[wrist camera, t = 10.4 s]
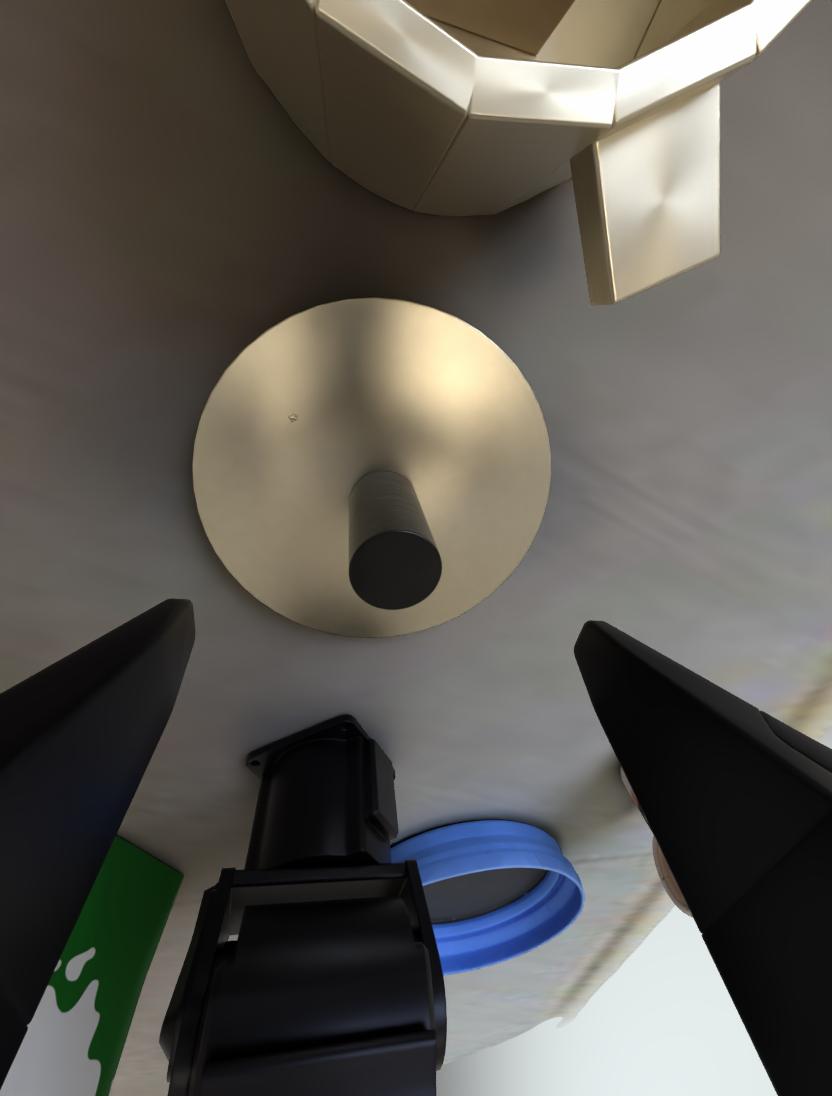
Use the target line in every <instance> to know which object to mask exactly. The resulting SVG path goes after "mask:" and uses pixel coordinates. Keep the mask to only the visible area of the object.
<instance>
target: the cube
mask: <svg viewBox="0 0 832 1096" xmlns="http://www.w3.org/2000/svg"><path fill="white" fill-rule="evenodd" d="M405 1H406V2H408V3H409V4H410V5H412V6H413V7H414V8H416V9H417V10H418V11H420V12H421V13H422V14H424V15H426V16H429V17H431V18H434V19H437V20H440V21H442V22H445V23H448V24H451V25H453V26H456V27H459V28H462V29H465V30H467V31H470V32H473V33H476V34H478V35H481V36H484V37H487V38H489V39H492V40H495V41H498V42H500V43H503V44H506V45H509V46H512V47H514V48H517V49H520V50H523V51H525V52H528V53H531V54H534V55H537V54H538V53H539V51H540V50H541V48H542V47H543V45H544V44H545V43H546V41H547V40H548V38H549V37H550V36H551V34H552V33H553V31H554V30H555V28H556V27H557V26H558V24H559V23H560V21H561V20H562V19H563V17H564V16H565V14H566V13H567V11H568V10H569V9H570V7H571V6H572V4H573V3H574V2H575V0H405Z"/></svg>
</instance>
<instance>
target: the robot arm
mask: <svg viewBox="0 0 832 1096" xmlns="http://www.w3.org/2000/svg"><path fill="white" fill-rule="evenodd" d="M194 640H195V622H194V612H193V604H192V602H191V601H190V600H188V599H167V600H165V601H163V602H161V603H160V604H158V605H156V606H154V607H153V608H151V609H149V610H147V611H146V612H144V613H142V614H140V615H139V616H137V617H135V618H133V619H131V620H130V621H128V622H126V623H124V624H123V625H121V626H119V627H117V628H116V629H114V630H112V631H110V632H109V633H107V634H105V635H103V636H102V637H100V638H98V639H96V640H94V641H93V642H91V643H89V644H87V645H86V646H84V647H82V648H80V649H79V650H77V651H75V652H73V653H72V654H70V655H68V656H66V657H64V658H63V659H61V660H59V661H57V662H56V663H54V664H52V665H50V666H49V667H47V668H45V669H43V670H42V671H40V672H38V673H36V674H35V675H33V676H31V677H29V678H27V679H26V680H24V681H22V682H20V683H19V684H17V685H15V686H13V687H12V688H10V689H8V690H6V691H5V692H3V693H1V694H0V1090H1V1088H2V1085H3V1083H4V1081H5V1079H6V1077H7V1074H8V1072H9V1070H10V1068H11V1066H12V1063H13V1061H14V1059H15V1057H16V1055H17V1052H18V1050H19V1048H20V1046H21V1044H22V1041H23V1039H24V1037H25V1035H26V1033H27V1030H28V1026H27V1025H28V1024H30V1022H31V1021H32V1019H33V1016H34V1014H35V1012H36V1010H37V1008H38V1005H39V1003H40V1001H41V999H42V997H43V994H44V992H45V990H46V988H47V986H48V983H49V981H50V979H51V977H52V975H53V972H54V970H55V968H56V966H57V964H58V961H59V959H60V957H61V955H62V953H63V950H64V948H65V946H66V944H67V942H68V940H69V937H70V935H71V933H72V931H73V929H74V926H75V924H76V922H77V920H78V918H79V915H80V913H81V911H82V909H83V907H84V904H85V902H86V900H87V898H88V896H89V893H90V891H91V889H92V887H93V885H94V882H95V880H96V878H97V876H98V874H99V871H100V869H101V867H102V865H103V863H104V860H105V858H106V856H107V854H108V852H109V849H110V847H111V845H112V843H113V841H114V838H115V836H116V834H117V832H118V830H119V827H120V825H121V823H122V821H123V819H124V816H125V814H126V812H127V810H128V808H129V805H130V803H131V801H132V799H133V797H134V795H135V792H136V790H137V788H138V786H139V784H140V781H141V779H142V777H143V775H144V773H145V770H146V768H147V766H148V764H149V762H150V759H151V757H152V755H153V753H154V751H155V748H156V746H157V744H158V742H159V740H160V737H161V735H162V733H163V731H164V729H165V726H166V724H167V722H168V720H169V717H170V715H171V712H172V710H173V707H174V704H175V701H176V698H177V695H178V692H179V689H180V685H181V682H182V679H183V676H184V673H185V670H186V667H187V663H188V660H189V657H190V654H191V651H192V648H193V644H194ZM574 655H575V658H576V661H577V664H578V666H579V669H580V672H581V675H582V677H583V680H584V683H585V685H586V688H587V691H588V694H589V696H590V699H591V702H592V704H593V707H594V710H595V712H596V714H597V716H598V719H599V721H600V723H601V725H602V727H603V729H604V731H605V734H606V736H607V738H608V740H609V742H610V744H611V746H612V748H613V750H614V752H615V754H616V757H617V759H618V761H619V763H620V765H621V767H622V769H623V771H624V773H625V775H626V778H627V780H628V782H629V784H630V786H631V788H632V790H633V792H634V794H635V796H636V798H637V801H638V803H639V805H640V807H641V809H642V811H643V813H644V815H645V817H646V819H647V822H648V824H649V826H650V828H651V830H652V832H653V834H654V836H655V838H656V840H657V843H658V845H659V847H660V849H661V851H662V853H663V855H664V857H665V859H666V861H667V863H668V866H669V868H670V870H671V872H672V874H673V876H674V878H675V880H676V882H677V884H678V887H679V889H680V891H681V893H682V895H683V897H684V899H685V901H686V903H687V905H688V907H689V910H690V912H691V914H692V916H693V918H694V920H695V922H696V924H697V926H698V928H699V931H700V932H701V933H703V934H702V937H703V940H704V942H705V944H706V945H707V948H708V950H709V952H710V954H711V956H712V959H713V961H714V963H715V964H716V967H717V969H718V971H719V973H720V975H721V977H722V979H723V981H724V984H725V986H726V988H727V990H728V992H729V994H730V996H731V998H732V1001H733V1003H734V1005H735V1007H736V1009H737V1011H738V1013H739V1015H740V1017H741V1019H742V1022H743V1024H744V1025H745V1028H746V1030H747V1032H748V1034H749V1036H750V1038H751V1040H752V1043H753V1045H754V1047H755V1049H756V1051H757V1053H758V1055H759V1057H760V1059H761V1061H762V1063H763V1066H764V1068H765V1070H766V1072H767V1074H768V1076H769V1078H770V1080H771V1082H772V1084H773V1087H774V1088H775V1091H776V1093H777V1095H778V1096H832V749H830V748H828V747H826V746H824V745H823V744H821V743H819V742H817V741H815V740H813V739H811V738H810V737H808V736H806V735H804V734H802V733H801V732H799V731H797V730H795V729H793V728H792V727H790V726H788V725H786V724H784V723H783V722H781V721H779V720H777V719H775V718H774V717H772V716H770V715H768V714H767V713H765V712H763V711H759V710H758V708H756V707H754V706H752V705H751V704H749V703H747V702H745V701H744V700H742V699H740V698H738V697H737V696H735V695H733V694H731V693H730V692H728V691H726V690H724V689H722V688H721V687H719V686H717V685H715V684H714V683H712V682H710V681H708V680H707V679H705V678H703V677H701V676H700V675H698V674H696V673H694V672H692V671H691V670H689V669H687V668H685V667H684V666H682V665H680V664H678V663H677V662H675V661H673V660H671V659H670V658H668V657H666V656H664V655H663V654H661V653H659V652H657V651H655V650H654V649H652V648H650V647H648V646H647V645H645V644H643V643H641V642H640V641H638V640H636V639H634V638H633V637H631V636H629V635H627V634H626V633H624V632H622V631H620V630H618V629H617V628H615V627H613V626H611V625H610V624H608V623H606V622H604V621H591V620H590V621H587V622H586V623H585V624H584V626H583V628H582V630H581V632H580V634H579V637H578V639H577V641H576V643H575V646H574ZM246 766H247V767H248V768H249V769H251V770H252V771H253V772H254V773H255V774H256V775H257V776H258V777H259V778H261V785H260V790H259V795H258V800H257V806H256V811H255V816H254V821H253V827H252V832H251V837H250V843H249V848H248V853H247V858H246V864H245V869H244V870H235V869H236V867H235V868H222V871H221V875H220V878H219V882H218V883H217V885H215V886H213V887H211V888H209V889H207V890H205V891H204V894H203V898H202V902H201V906H200V910H199V914H198V918H197V922H196V926H195V929H194V933H193V937H192V940H191V943H190V946H189V949H188V952H187V955H186V958H185V961H184V964H183V967H182V969H181V972H180V975H179V978H178V981H177V984H176V987H175V990H174V992H173V995H172V998H171V1001H170V1004H169V1007H168V1010H167V1012H166V1015H165V1018H164V1021H163V1025H162V1029H161V1033H160V1039H159V1043H160V1045H161V1047H162V1049H163V1051H164V1053H165V1055H166V1057H167V1059H168V1061H169V1066H168V1072H167V1082H170V1085H169V1091H168V1096H436V1071H437V1070H440V1068H441V1066H442V1064H443V1061H444V1056H445V1048H446V1032H447V1017H446V998H445V987H444V979H443V972H442V966H441V961H440V956H439V952H438V947H437V943H436V939H435V935H434V931H433V927H432V923H431V918H430V914H429V910H428V906H427V902H426V898H425V894H424V889H423V885H422V881H421V877H420V873H419V869H418V864H417V861H416V859H415V860H405V861H404V862H401V863H392V861H391V849H390V840H393V839H396V837H397V834H398V821H397V811H396V801H395V790H394V779H395V770H394V768H393V767H392V762H391V761H390V759H389V758H388V757H387V755H386V754H385V753H384V751H383V750H382V749H381V748H380V746H379V745H378V744H377V742H376V741H375V740H373V739H372V738H370V737H369V736H368V735H367V734H366V732H365V731H364V730H363V728H362V727H361V726H360V724H359V723H358V722H357V721H356V719H355V718H354V717H353V716H351V715H342V716H339V717H337V718H334V719H332V720H329V721H327V722H324V723H322V724H319V725H317V726H314V727H312V728H309V729H307V730H304V731H302V732H300V733H297V734H295V735H292V736H290V737H287V738H285V739H282V740H280V741H277V742H275V743H272V744H270V745H267V746H265V747H262V748H260V749H257V750H255V751H252V752H250V753H249V754H248V755H247V759H246ZM236 934H239V936H238V941H228V938H229V935H236Z"/></svg>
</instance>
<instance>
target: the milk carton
mask: <svg viewBox="0 0 832 1096" xmlns="http://www.w3.org/2000/svg"><path fill="white" fill-rule="evenodd" d="M183 877H184V876H183V875H182V874H180V873H179V872H177V871H175V870H174V869H172V868H170V867H169V866H167V865H165V864H164V863H162V862H160V861H158V860H157V859H155V858H153V857H152V856H150V855H148V854H147V853H145V852H143V851H142V850H140V849H138V848H137V847H135V846H133V845H131V844H130V843H128V842H126V841H125V840H123V839H121V838H120V837H118V836H115V838H114V841H113V843H112V845H111V847H110V849H109V852H108V854H107V856H106V858H105V860H104V863H103V865H102V867H101V869H100V871H99V874H98V876H97V878H96V880H95V882H94V885H93V887H92V889H91V891H90V893H89V896H88V898H87V900H86V902H85V904H84V907H83V909H82V911H81V913H80V915H79V918H78V920H77V922H76V924H75V926H74V929H73V931H72V933H71V935H70V937H69V940H68V942H67V944H66V946H65V948H64V950H63V953H62V955H61V957H60V959H59V961H58V964H57V966H56V968H55V970H54V972H53V975H52V977H51V979H50V981H49V983H48V986H47V988H46V990H45V992H44V994H43V997H42V999H41V1001H40V1003H39V1005H38V1008H37V1010H36V1012H35V1014H34V1016H33V1019H32V1021H31V1022H30V1024H28V1025H27V1026H28V1030H27V1033H26V1035H25V1037H24V1039H23V1041H22V1044H21V1046H20V1048H19V1050H18V1052H17V1055H16V1057H15V1059H14V1061H13V1063H12V1066H11V1068H10V1070H9V1072H8V1074H7V1077H6V1079H5V1081H4V1083H3V1085H2V1088H1V1090H0V1096H109V1093H110V1090H111V1086H112V1083H113V1080H114V1077H115V1073H116V1070H117V1067H118V1064H119V1061H120V1057H121V1054H122V1051H123V1048H124V1044H125V1041H126V1038H127V1035H128V1031H129V1028H130V1025H131V1022H132V1019H133V1015H134V1012H135V1009H136V1006H137V1003H138V999H139V996H140V993H141V990H142V987H143V984H144V981H145V978H146V975H147V972H148V970H149V967H150V964H151V962H152V959H153V957H154V954H155V951H156V949H157V946H158V943H159V941H160V938H161V935H162V933H163V930H164V927H165V925H166V922H167V919H168V917H169V914H170V911H171V909H172V906H173V903H174V901H175V898H176V895H177V893H178V890H179V887H180V885H181V882H182V879H183Z"/></svg>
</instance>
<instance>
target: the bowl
mask: <svg viewBox="0 0 832 1096" xmlns="http://www.w3.org/2000/svg"><path fill="white" fill-rule="evenodd" d="M415 859H416V861H417V864H418V869H419V873H420V877H421V881H422V885H423V889H424V894H425V898H426V902H427V906H428V910H429V914H430V918H431V923H432V927H433V931H434V935H435V939H436V943H437V947H438V952H439V956H440V961H441V966H442V972H443V975H450V974H455V973H461V972H466V971H471V970H476V969H480V968H483V967H487V966H491V965H494V964H497V963H501V962H504V961H507V960H509V959H512V958H515V957H517V956H520V955H522V954H524V953H527V952H529V951H531V950H533V949H535V948H537V947H539V946H541V945H543V944H545V943H546V942H548V941H550V940H551V939H553V938H554V937H556V936H558V935H559V934H560V933H562V932H563V931H564V930H565V929H567V928H568V927H569V926H570V925H571V924H572V923H573V922H574V921H575V920H576V918H577V917H578V916H579V914H580V913H581V911H582V909H583V906H584V901H585V895H584V891H583V888H582V884H581V881H580V878H579V876H578V874H577V873H576V871H575V870H574V868H573V866H572V864H571V863H570V862H569V861H568V860H567V859H566V858H565V857H564V856H563V854H562V852H561V849H560V847H559V845H558V843H557V842H556V841H555V840H554V839H553V838H552V837H551V836H550V835H549V834H547V833H546V832H544V831H542V830H541V829H539V828H537V827H534V826H531V825H528V824H524V823H520V822H514V821H504V820H481V821H472V822H465V823H459V824H454V825H449V826H445V827H441V828H437V829H434V830H431V831H428V832H425V833H422V834H420V835H417V836H415V837H413V838H410V839H408V840H406V841H404V842H402V843H400V844H398V845H396V846H394V847H393V848H391V861H392V863H401V862H404V861H405V860H415Z"/></svg>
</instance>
